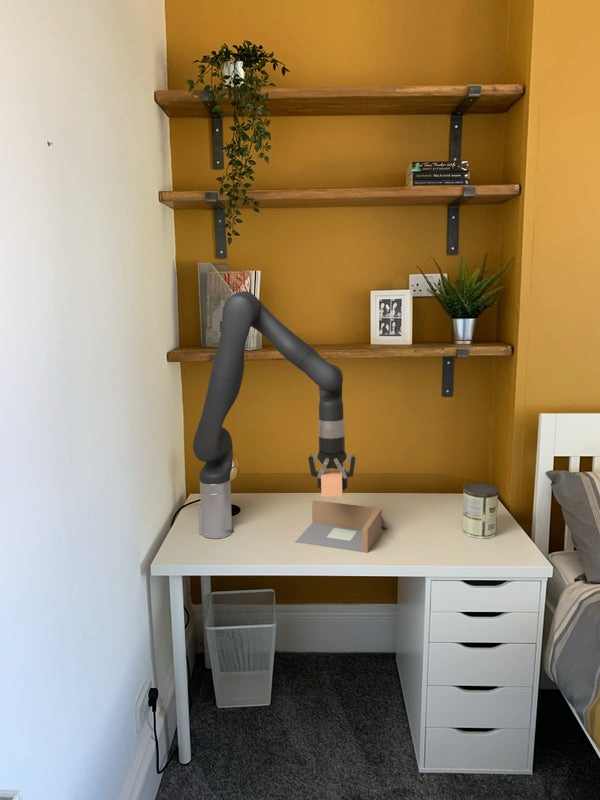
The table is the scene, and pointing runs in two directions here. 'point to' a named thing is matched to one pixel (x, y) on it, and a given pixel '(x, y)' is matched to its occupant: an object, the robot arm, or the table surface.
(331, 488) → the cube
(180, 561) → the table surface
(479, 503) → the coffee can
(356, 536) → the arena
